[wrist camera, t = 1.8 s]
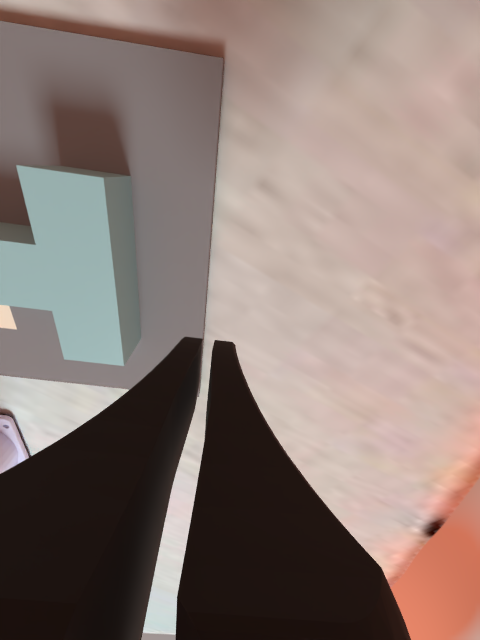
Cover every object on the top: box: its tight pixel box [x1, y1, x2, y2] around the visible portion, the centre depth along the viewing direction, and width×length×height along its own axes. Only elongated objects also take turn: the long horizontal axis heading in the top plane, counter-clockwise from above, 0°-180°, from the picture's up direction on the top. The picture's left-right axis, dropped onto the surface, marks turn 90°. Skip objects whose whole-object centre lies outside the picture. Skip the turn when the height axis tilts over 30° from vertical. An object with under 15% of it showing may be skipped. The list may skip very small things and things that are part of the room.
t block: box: [0, 165, 141, 366], centre depth 15 cm, size 10×10×3 cm
